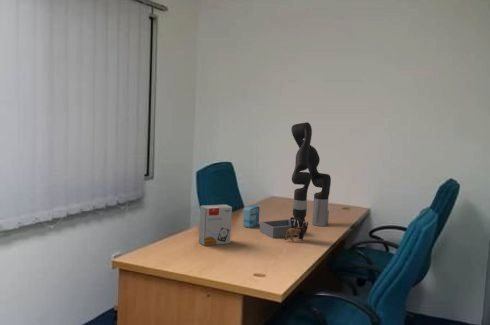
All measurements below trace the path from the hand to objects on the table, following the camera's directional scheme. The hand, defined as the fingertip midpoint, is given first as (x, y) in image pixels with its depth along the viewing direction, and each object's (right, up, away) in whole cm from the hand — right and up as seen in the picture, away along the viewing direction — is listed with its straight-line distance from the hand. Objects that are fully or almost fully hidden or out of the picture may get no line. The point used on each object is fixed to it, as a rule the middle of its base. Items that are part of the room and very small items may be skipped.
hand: (298, 237), depth 258 cm
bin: (-9, 0, +15) cm, 17 cm away
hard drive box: (-46, -1, -11) cm, 47 cm away
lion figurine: (-1, -1, 0) cm, 2 cm away
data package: (-26, +2, +29) cm, 39 cm away
